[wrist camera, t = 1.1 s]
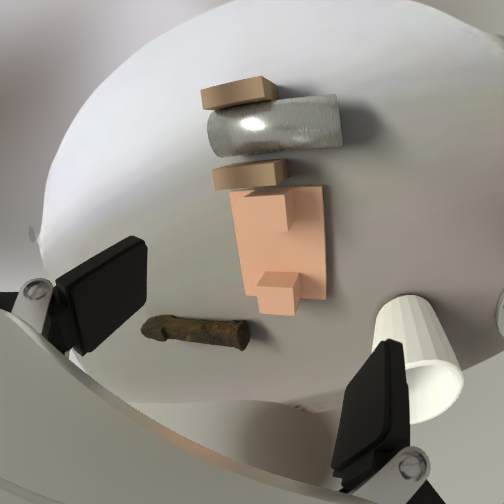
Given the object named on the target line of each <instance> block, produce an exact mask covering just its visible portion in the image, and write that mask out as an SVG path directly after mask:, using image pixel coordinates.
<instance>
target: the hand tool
mask: <svg viewBox="0 0 504 504" xmlns="http://www.w3.org/2000/svg"><path fill="white" fill-rule="evenodd" d="M141 332H142V334H143V335H144V336H145V337H147V338H151V339H154V340H157V341H162V342H165V341H166V340H167V339H178V340H183V341H189V342H196V343H204V344H211V345H220V346H228V347H235V348H238V349H240V351H243V350H244V349H245V348H246V347H247V345H248V342H249V341H250V332H249V326H248V324H247V322H246V321H245V320H242V321H241V322H240V323H239V322H238V321H236V320H233V321H231V322H220V321H213V322H212V321H204V320H193V319H192V320H189V319H179V318H175V317H174V316H173V315H160V316H155V317H152V318H149V319H148V320H147V321H146V322H145V323H144V324H143V325H142V328H141Z"/></svg>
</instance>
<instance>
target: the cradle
mask: <svg viewBox="0 0 504 504" xmlns="http://www.w3.org/2000/svg"><path fill="white" fill-rule="evenodd" d="M229 194H230V200H231V207H232V213H233V219H234V226H235V232H236V238H237V245H238V251H239V257H240V263H241V269H242V275H243V281H244V288H245V294H246V295H248V296H257V298H258V305H259V312H260V313H264V314H277V315H290V316H295V314H296V311H297V308H298V305H299V303H300V300H301V299H319V300H326V297H327V264H326V235H325V216H324V200H323V186H322V185H311V186H289V187H271V188H256V189H243V190H233V191H231V192H229Z"/></svg>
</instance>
